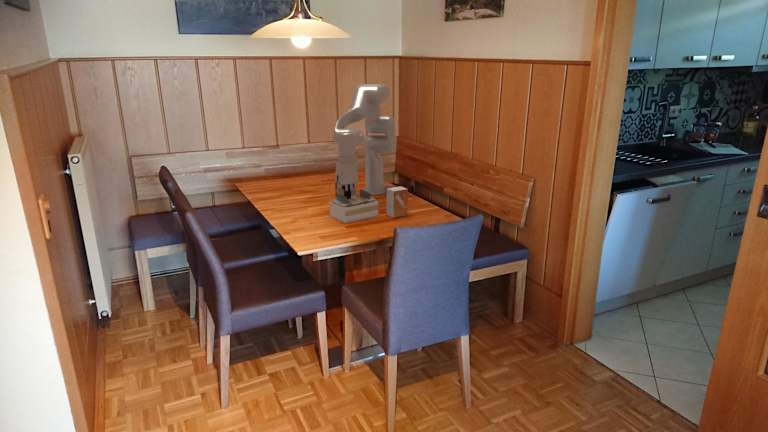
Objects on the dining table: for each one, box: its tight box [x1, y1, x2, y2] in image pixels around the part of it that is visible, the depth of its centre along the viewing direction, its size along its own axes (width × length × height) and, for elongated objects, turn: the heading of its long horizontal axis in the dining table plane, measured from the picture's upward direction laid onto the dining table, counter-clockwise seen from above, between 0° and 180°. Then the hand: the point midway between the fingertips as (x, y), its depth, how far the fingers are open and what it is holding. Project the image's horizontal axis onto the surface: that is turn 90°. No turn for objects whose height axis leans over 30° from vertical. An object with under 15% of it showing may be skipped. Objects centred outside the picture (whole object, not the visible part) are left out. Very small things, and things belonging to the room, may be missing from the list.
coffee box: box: [334, 181, 357, 199], centre depth 259 cm, size 9×6×16 cm
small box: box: [385, 185, 409, 219], centre depth 240 cm, size 8×6×13 cm
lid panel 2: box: [351, 189, 377, 203], centre depth 241 cm, size 9×11×4 cm
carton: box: [329, 200, 379, 224], centre depth 240 cm, size 18×14×7 cm
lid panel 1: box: [330, 194, 360, 207], centre depth 236 cm, size 9×11×4 cm
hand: (347, 198), depth 236 cm, fingers closed
